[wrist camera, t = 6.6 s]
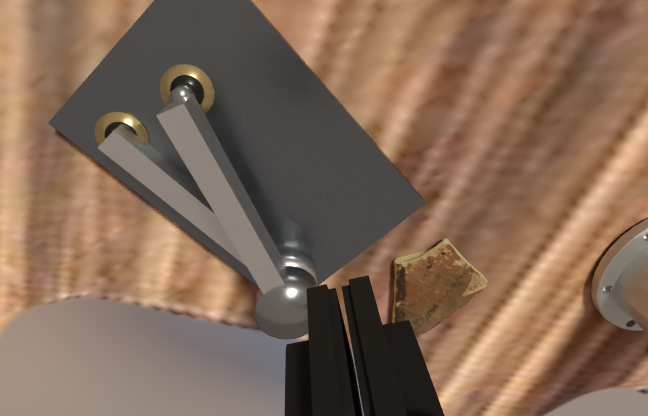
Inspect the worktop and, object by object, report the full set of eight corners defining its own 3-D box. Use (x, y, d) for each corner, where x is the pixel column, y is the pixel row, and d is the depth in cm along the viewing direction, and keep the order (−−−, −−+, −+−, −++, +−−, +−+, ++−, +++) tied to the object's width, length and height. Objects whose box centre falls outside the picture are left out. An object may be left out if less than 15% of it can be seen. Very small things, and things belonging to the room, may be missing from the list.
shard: (389, 344, 38) (393, 360, 37) (333, 301, 35) (335, 316, 34) (485, 275, 35) (494, 288, 34) (432, 221, 32) (440, 233, 31)
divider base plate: (422, 197, 31) (433, 214, 28) (286, 301, 34) (286, 324, 32) (205, -53, 22) (195, -59, 20) (56, 118, 26) (32, 131, 24)
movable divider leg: (324, 288, 32) (329, 326, 28) (273, 306, 33) (271, 347, 29) (214, 68, 24) (201, 82, 20) (148, 97, 24) (123, 116, 21)
